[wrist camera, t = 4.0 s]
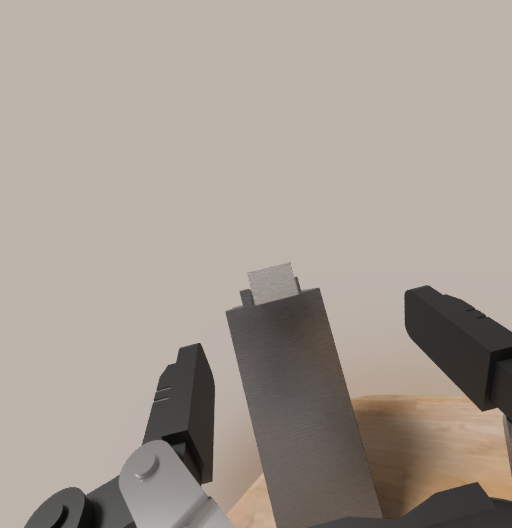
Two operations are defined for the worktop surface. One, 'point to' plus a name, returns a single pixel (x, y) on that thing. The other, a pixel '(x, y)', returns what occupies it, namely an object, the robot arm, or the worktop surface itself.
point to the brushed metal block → (272, 283)
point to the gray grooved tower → (301, 411)
